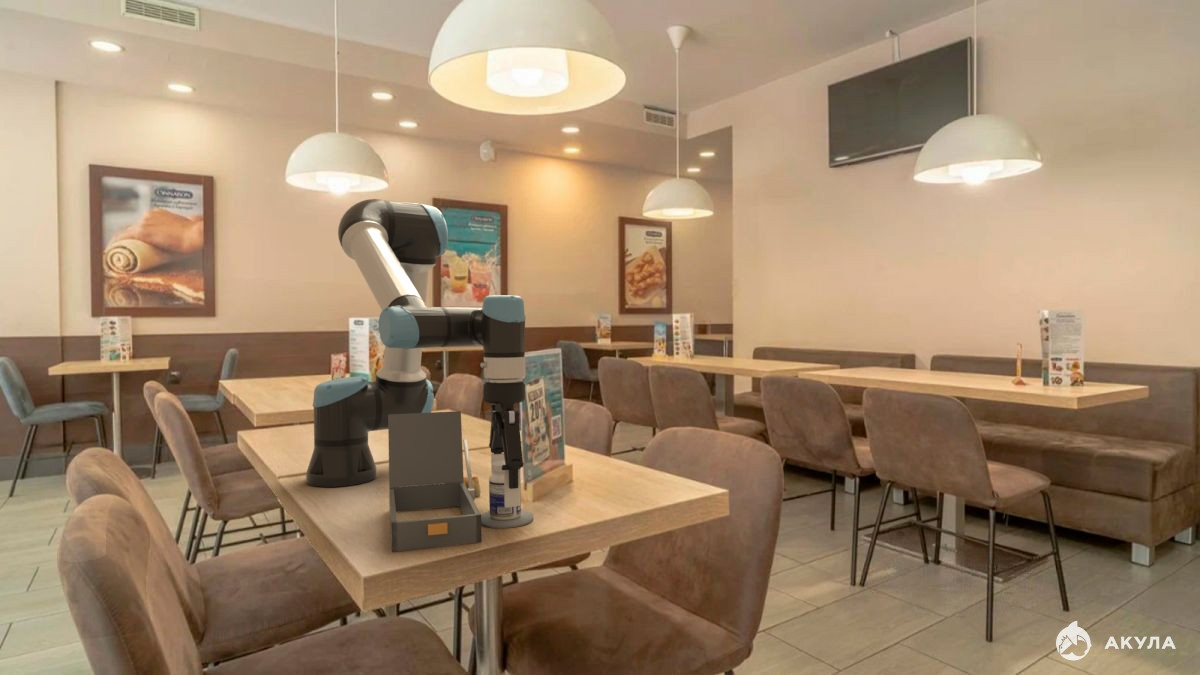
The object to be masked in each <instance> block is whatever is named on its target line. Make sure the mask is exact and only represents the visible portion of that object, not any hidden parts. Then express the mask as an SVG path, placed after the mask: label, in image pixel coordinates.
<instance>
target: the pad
mask: <svg viewBox="0 0 1200 675" xmlns="http://www.w3.org/2000/svg"><path fill="white" fill-rule="evenodd" d="M533 520H534V514H533V513H532V512H531V511H528V510H525V509H521V515H520V516H519V517H518V518H515V519H512V520H495V519H493V518H491V517H490V510H488V511H486V512H483V513H481V527H486V528H491V529H510V528H511V529H512V528H517V527H523V526H525V525H529V524H530V523H532V522H533Z"/></svg>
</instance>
